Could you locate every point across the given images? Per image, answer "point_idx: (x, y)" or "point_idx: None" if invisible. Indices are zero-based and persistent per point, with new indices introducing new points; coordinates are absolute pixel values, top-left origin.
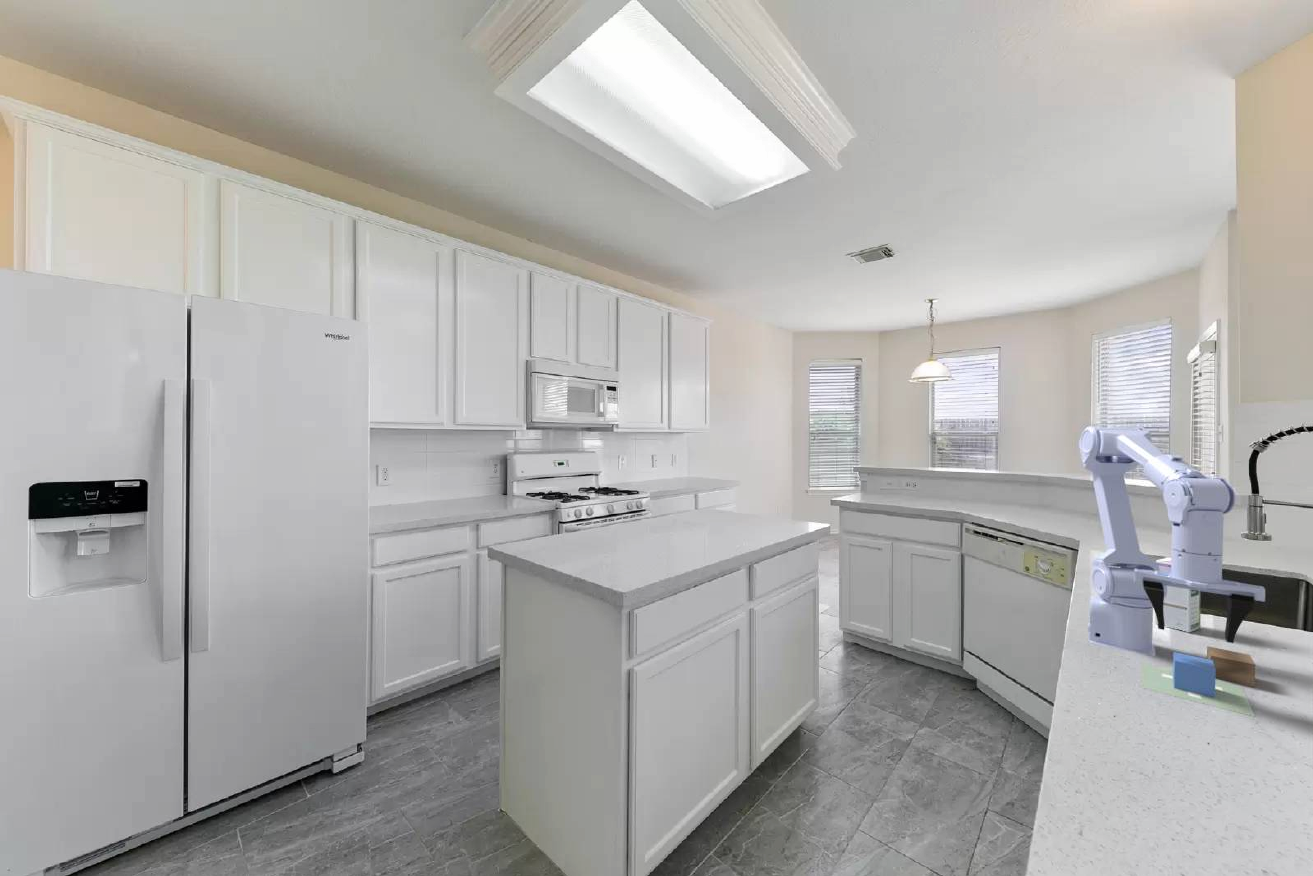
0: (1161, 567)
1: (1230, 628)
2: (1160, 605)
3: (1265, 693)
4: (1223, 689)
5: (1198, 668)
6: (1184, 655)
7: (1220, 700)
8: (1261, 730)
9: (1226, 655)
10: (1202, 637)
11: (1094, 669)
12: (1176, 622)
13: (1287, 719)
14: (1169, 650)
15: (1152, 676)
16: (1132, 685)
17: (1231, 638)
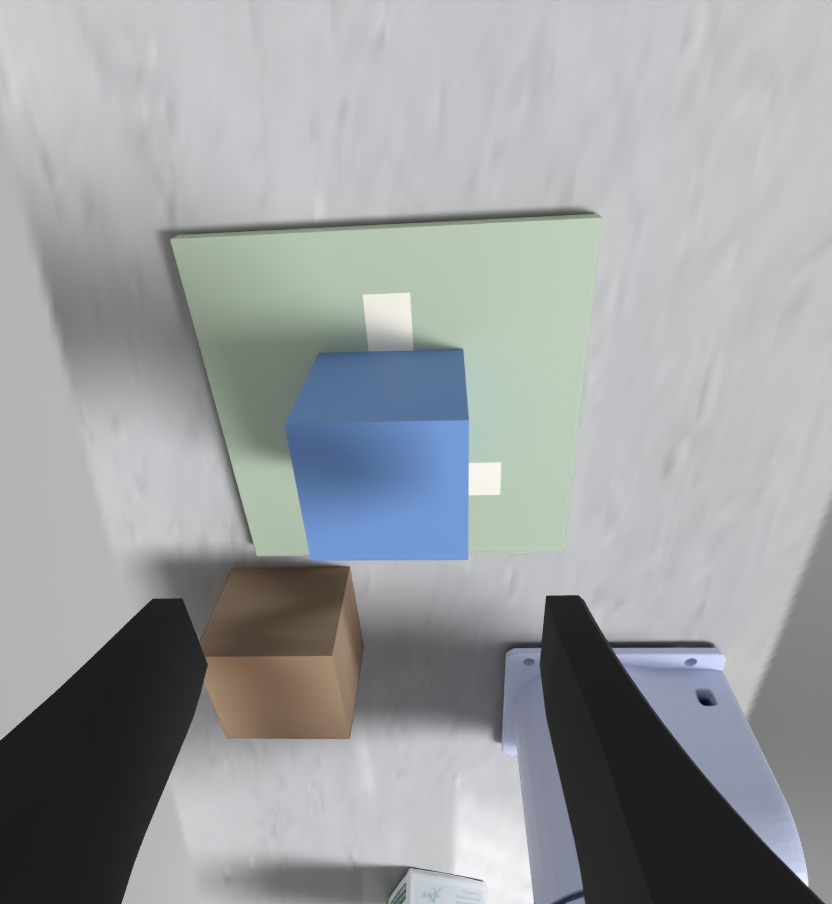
0: None
1: (94, 692)
2: (653, 817)
3: (205, 571)
4: None
5: (361, 412)
6: (422, 543)
7: (299, 342)
8: (138, 115)
9: (285, 688)
10: (381, 858)
11: (776, 367)
12: (438, 900)
13: (107, 365)
14: (460, 739)
15: (538, 430)
16: (631, 275)
17: (137, 621)
